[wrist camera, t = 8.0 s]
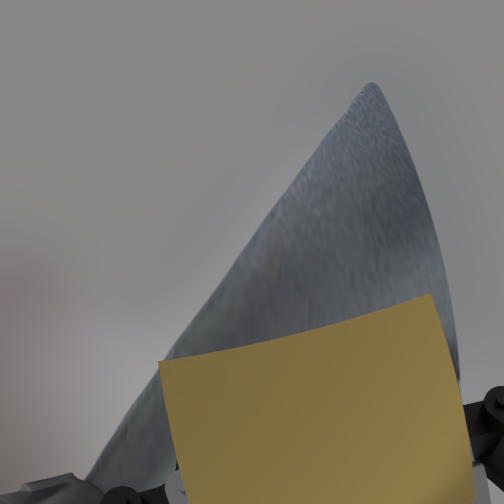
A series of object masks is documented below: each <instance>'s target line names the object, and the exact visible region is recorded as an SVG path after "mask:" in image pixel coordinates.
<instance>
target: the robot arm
mask: <svg viewBox="0 0 504 504" xmlns="http://www.w3.org/2000/svg"><path fill="white" fill-rule="evenodd" d="M463 409H464V414H465V420H466V425H467V431H468V437H469V444H470V451H471V459H472V468H473V478H474V491H475V501H473V502H472V503H470V504H491V502H490V495H489V488H488V483H487V478H488V479H489V480H491V481H492V482H493V483H494V484H495V485H496V486H498V487H499V488H500V489H501V490H502V491H503V492H504V386H498V387H494V388H492V389H491V390H490V391H488V393H487V394H486V396H485V398H484V400H483V401H479V402H476V403H471V404H467V405H463ZM0 504H189V503H188V499H187V496H186V492H185V488H184V485H183V481H182V477H181V473H180V470H179V466H178V462H177V466H176V470H175V472H173V473H172V474H171V475H170V476H169V477H168V479H167V481H166V483H165V484H163V485H162V486H159V487H157V488H153V489H150V490H147V491H143V492H139V493H137V492H136V491H135V490H134V489H132V488H130V487H125V486H120V487H115V488H113V489H111V490H109V491H108V492H107V493H106V494H105V495H103V494H102V493H101V492H100V491H99V490H98V489H97V488H95V487H94V486H93V485H91V484H89V483H88V482H86V481H83V480H80V479H78V478H76V477H75V476H74V475H73V473H67V474H64V475H60V476H56V477H52V478H47V479H43V480H39V481H34V482H29V483H25V484H23V485H22V487H21V488H20V490H19V491H18V492H13V493H8V494H2V495H0Z"/></svg>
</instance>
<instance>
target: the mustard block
mask: <svg viewBox="0 0 504 504" xmlns="http://www.w3.org/2000/svg"><path fill="white" fill-rule="evenodd" d="M158 364H159V371H160V377H161V383H162V389H163V395H164V400H165V406H166V411H167V416H168V421H169V426H170V431H171V435H172V440H173V445H174V449H175V453H176V457H177V462H178V466H179V470H180V473H181V477H182V481H183V485H184V488H185V492H186V496H187V499H188V503H189V504H470V503H472V502H473V501H475V491H474V478H473V468H472V459H471V451H470V444H469V437H468V431H467V425H466V420H465V414H464V409H463V404H462V399H461V395H460V390H459V386H458V382H457V378H456V374H455V370H454V366H453V362H452V359H451V355H450V351H449V348H448V345H447V341H446V338H445V335H444V331H443V328H442V325H441V322H440V319H439V316H438V313H437V310H436V307H435V304H434V301H433V299H432V296H431V293H428V294H426V295H423V296H420V297H417V298H414V299H411V300H408V301H405V302H403V303H400V304H397V305H394V306H390V307H387V308H384V309H381V310H378V311H375V312H372V313H368V314H365V315H362V316H358V317H355V318H352V319H348V320H345V321H341V322H338V323H334V324H331V325H327V326H323V327H320V328H316V329H312V330H308V331H305V332H301V333H297V334H293V335H289V336H285V337H280V338H276V339H272V340H268V341H263V342H259V343H254V344H250V345H245V346H241V347H236V348H231V349H226V350H221V351H216V352H211V353H205V354H200V355H194V356H188V357H183V358H177V359H170V360H164V361H159V362H158Z"/></svg>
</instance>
